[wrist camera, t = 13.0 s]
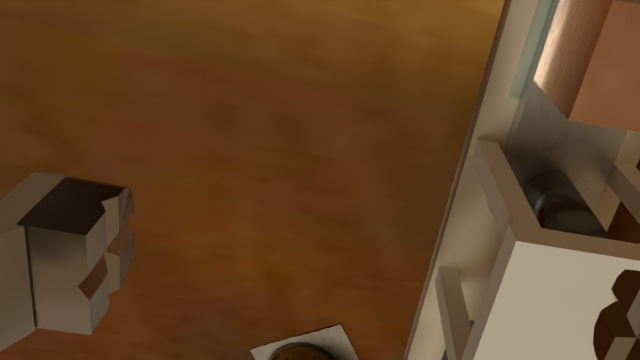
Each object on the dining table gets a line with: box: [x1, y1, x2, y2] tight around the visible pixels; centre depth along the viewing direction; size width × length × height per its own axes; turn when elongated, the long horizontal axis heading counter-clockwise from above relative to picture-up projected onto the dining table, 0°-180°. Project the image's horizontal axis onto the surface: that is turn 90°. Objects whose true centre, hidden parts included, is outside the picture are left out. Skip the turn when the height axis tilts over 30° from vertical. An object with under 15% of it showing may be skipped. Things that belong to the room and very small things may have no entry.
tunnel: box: [434, 139, 640, 360], centre depth 35 cm, size 11×12×12 cm
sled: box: [488, 0, 640, 239], centre depth 31 cm, size 7×24×7 cm, turn 172°
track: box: [403, 0, 640, 360], centre depth 41 cm, size 11×42×2 cm, turn 172°
